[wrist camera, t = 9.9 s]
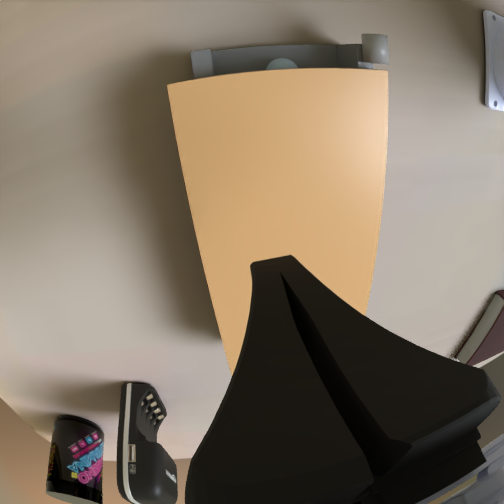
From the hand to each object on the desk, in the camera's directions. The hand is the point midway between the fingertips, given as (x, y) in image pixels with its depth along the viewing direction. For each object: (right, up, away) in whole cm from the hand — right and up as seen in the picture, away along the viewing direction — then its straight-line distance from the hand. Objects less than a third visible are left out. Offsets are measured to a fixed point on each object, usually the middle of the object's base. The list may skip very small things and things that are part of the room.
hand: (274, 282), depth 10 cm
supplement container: (-22, -20, +20) cm, 36 cm away
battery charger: (-11, -13, +17) cm, 24 cm away
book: (+38, -8, +25) cm, 46 cm away
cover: (+1, +1, +6) cm, 6 cm away
